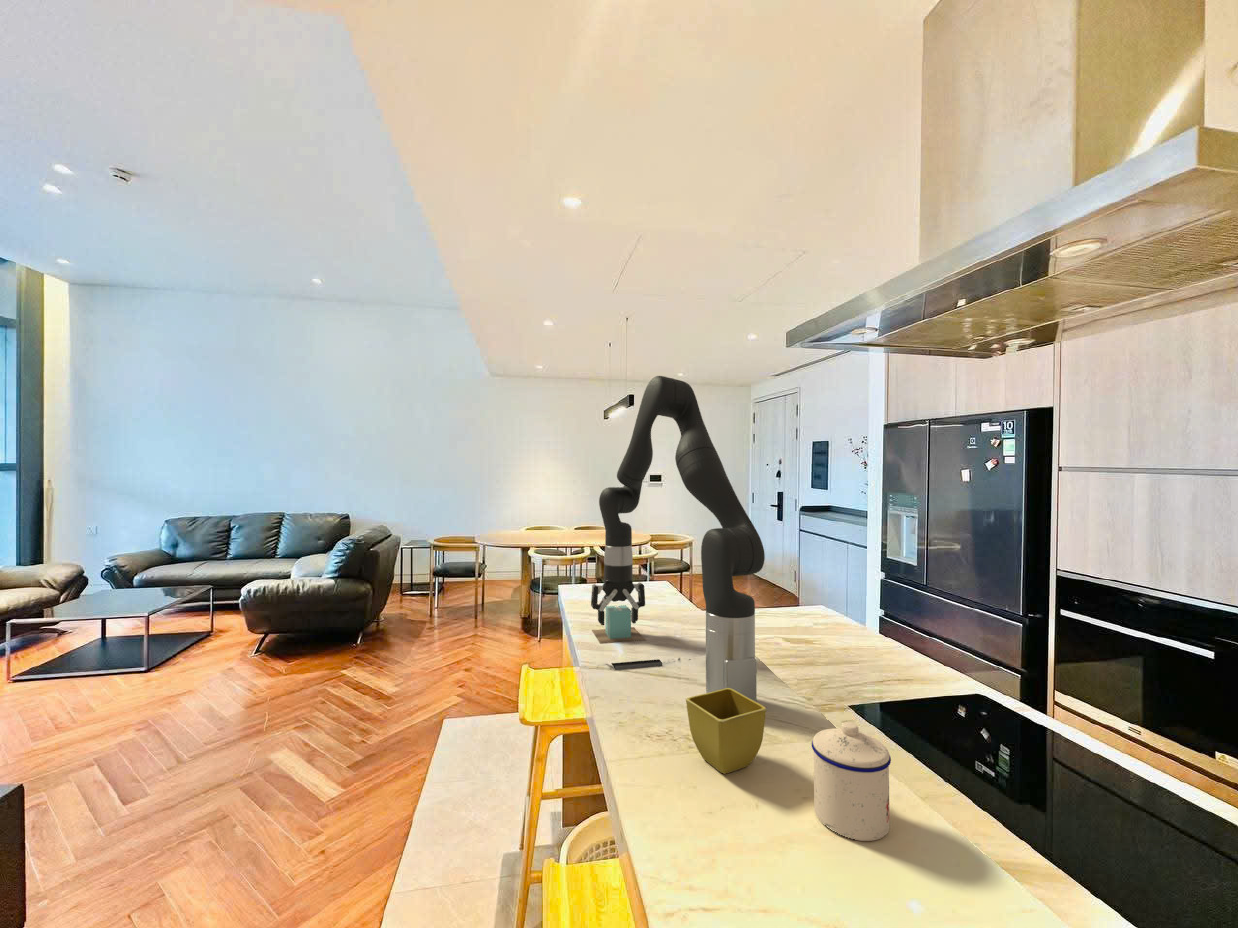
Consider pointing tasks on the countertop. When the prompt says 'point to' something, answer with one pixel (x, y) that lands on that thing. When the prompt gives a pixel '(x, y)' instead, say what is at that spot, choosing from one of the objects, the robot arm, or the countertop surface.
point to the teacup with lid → (851, 782)
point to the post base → (604, 638)
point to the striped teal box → (618, 621)
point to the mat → (637, 664)
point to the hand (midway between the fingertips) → (618, 623)
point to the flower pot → (726, 728)
